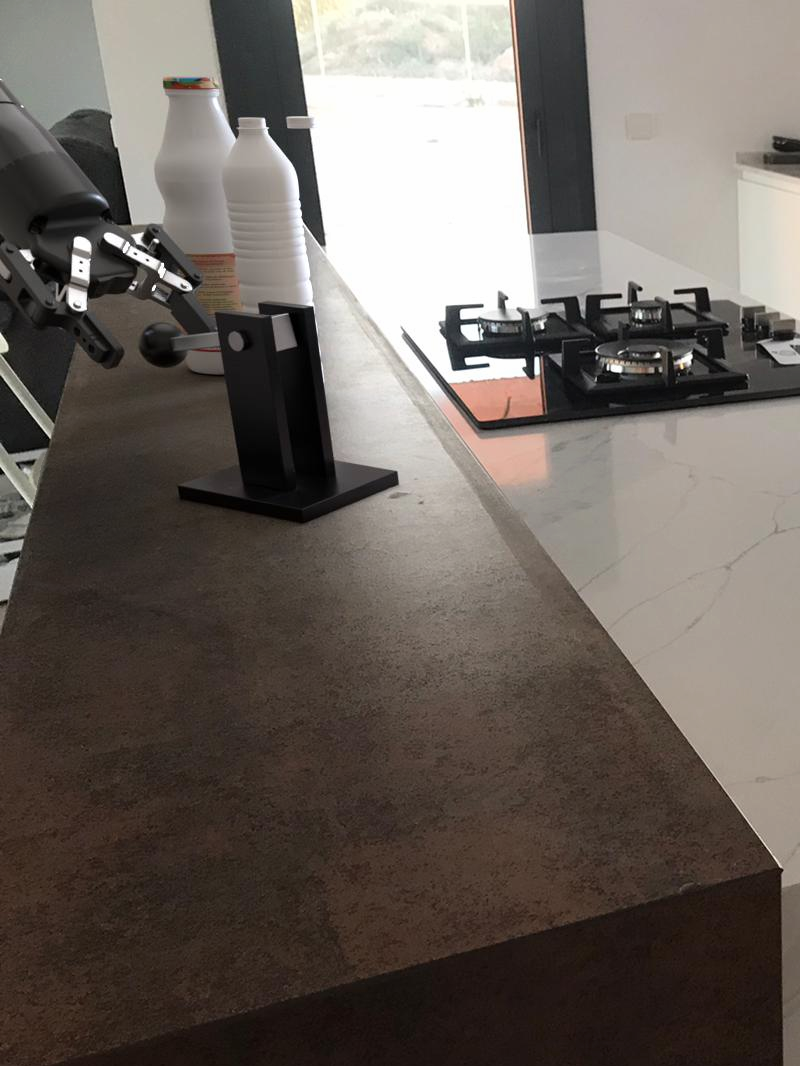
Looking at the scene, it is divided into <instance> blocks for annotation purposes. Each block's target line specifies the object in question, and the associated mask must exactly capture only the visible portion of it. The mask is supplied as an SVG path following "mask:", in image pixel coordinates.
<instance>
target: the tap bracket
mask: <svg viewBox="0 0 800 1066" xmlns="http://www.w3.org/2000/svg"><path fill="white" fill-rule="evenodd" d="M314 307H315V305H314V306H308V305H299V304H291V303H282V302H274V301H264V302H260V303H258V308H259V314H255V313H246V312H238V311H230V310H222V311H217V312H215V319H216V325H217V331H218V338H219V344H220V350H221V356H222V362H223V368H224V374H225V375H224V379H225V380H224V381H225V386H226V392H227V397H228V404H229V410H230V416H231V422H232V428H233V434H234V441H235V446H236V452H237V457H238V458H237V459H238V464H235V465H232V466H229V467H226V468H224V469H220V470H218V471H215V472H211V473H209V474H206V475H203V476H200V477H197V478H194V479H192V480H188V481H185V482H183V483H179V484H177V487H176V488H177V491H178V497H179V500H183V501H189V502H193V503H197V504H204V505H207V506H208V505H209V506H214V507H218V508H222V509H229V510H233V511H238V512H244V513H249V514H252V515H257V516H263V517H268V518H274V519H279V520H283V521H289V522H293V523H299V524H307V523H310V522H311V521H312V522H313V521H314V520H316V519H319V518H321V517H323V516H326V515H328V514H330V513H333V512H335V511H338V510H340V509H342V508H345V507H347V506H350V505H353V504H355V503H357V502H360V501H363V500H365V499H367V498H370V497H372V496H374V495H377V494H380V493H382V492H384V491H386V490H389V489H391V488H393V487H396V486H399V485H400V481H399V471H397V470H394V469H387V468H383V467H382V468H381V467H376V466H370V465H364V464H358V463H354V462H347V461H343V460H342V461H341V460H336V459H335V457H334V450H333V441H332V434H331V427H330V420H329V412H328V404H327V396H326V389H325V380H324V381H323V374H324V372H323V373H322V367H323V365H322V366H321V362H322V359H321V357H320V353H321V350H320V351H319V345H320V342H319V335H318V336H317V330H318V327H317V328H316V323H317V320H316V321H315V319H316V312H315V313H314ZM279 314H289V316H290V320H291V324H292V327H293V331H294V335H295V338H296V342H297V347H294V348H290V349H286V350H282V351H278V352H277V350H276V343H275V336H274V330H273V323H272V316H270V315H279ZM318 342H319V343H318Z"/></svg>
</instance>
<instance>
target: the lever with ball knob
mask: <svg viewBox="0 0 800 1066" xmlns="http://www.w3.org/2000/svg"><path fill="white" fill-rule="evenodd" d="M270 316H272V323H273V330H274V336H275V343H276V350H277V352H278V351H282V350H286V349H290V348H294V347H297V342H296V338H295V335H294V331H293V327H292V324H291V320H290V316H289V314H279V315H270ZM137 346H138V350H139V352H140V355H141V356H142V358H143V359H144V360H145V361H146V362H147V363H149V365H152V366H154V367H155V368H156V367H157V368H160V369H170V368H174V367H178V365H180V364H182V363H183V361H185V360H186V359H185V358H186V356H187V353H188V350H195V349H205V348H215V347H220V344H219V338H218V332H212V333H203V334H194V335H184V333H183V332H182V331H181V330H180V327H178V326H176V325H174V324H172V323H169V322H163V321H161V322H160V321H158V322H153V323H150V324H149V325H146V326H145V328H143V329H142V330H141V332H140V333H139V337H138V341H137Z"/></svg>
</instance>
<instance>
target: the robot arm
mask: <svg viewBox="0 0 800 1066" xmlns="http://www.w3.org/2000/svg"><path fill="white" fill-rule="evenodd" d="M0 235H1V236H2V237H3V238H4V240H5V241H6V242H2V243H1V244H0V287H1V288H2V290H3V291H4V292H5V294H6V295H7V296H8V297H9V299H10V300H11V302H12V303H13V304H14V305H15V307H16V308H17V309H18V311H19V312H20V314H21V315H22V316H23V318H24V319H25V320H26V322H27V324H29V325H30V327H32V328H33V329H35V330H37V331H45V330H48V327H50V328H51V327H52V328H58V329H59V330H61V331H62V332H64V333H68V334H70V335H71V336H72V337H73V339H74V340H75V341H76V343H77V344H78V345H79V346H80V347H81V348H82V350H83V351H84V352H85V353H86V354H87V356H88V357H89V358H90V359H91V360H92V361H94V362H95V363H96V364H98V365H99V364H100V365H101V367H102V368H103V369H105V370H110V369H115V368H117V367H118V366H119V364H120V363H121V361H122V360H123V358H124V356H125V348H124V347H123V345H122V344H121V343H120V341H118V339H117V338H116V337H115V335H113V333H112V332H111V331H110V330H109V328H108V327H107V326H106V325H105V324H104V322H103V321H102V320H101V318H99V317H98V315H97V313H96V312H94V311H90V312H87V311H86V310H87V307H88V306H87V305H88V304H87V302H88V301H87V299H89V300H95V299H100V298H102V297H103V296H105V295H114V296H115V295H116V296H117V295H123V294H128V295H130V296H132V297H134V298H135V299H138V300H140V301H147V300H151V301H152V302H154V303H156V304H158V305H160V306H162V307H164V308H166V309H168V310H170V315H171V316H172V317H173V318H174V319H175V320H176V322H177V323H178V325H179V324H180V325H181V326H182V328H183V329H184V330H185V331H186V332H187V334H188V335H194V334H203V333H212V332H217V328H216V327H217V325H216V323H215V320H214V319H213V318H212V317H211V316H210V314H209V313H208V312H207V311H206V310H205V308H204V307H203V306H202V305H201V303H200V302H199V301H198V300H197V299H196V297H195V295H196V293H197V291H198V290H199V288H200V287H201V285H202V283H203V282H204V280H205V276H204V275H203V273H202V272H201V271H200V270H199V269H198V268H197V267H196V266H195V265H194V263H193V262H192V261H191V260H190V259H189V258H188V257H187V256H186V255H185V253H184V252H183V251H182V250H181V249H180V248H179V247H178V246H177V245H176V243H175V242H174V241H173V240H172V239H171V238H170V237H169V236H168V235H167V233H166V232H165V231H164V230H163V227H161V226H160V225H158V224H157V223H152V222H151V223H148V224H147V226H146V228H145V230H144V231H143V232H138V233H134V234H130V233H129V232H128V231H126V230H125V229H123V228H122V227H120V226H119V225H118V224H116V222H115V220H114V218H113V215H112V212H111V208H110V206H109V203H108V201H107V199H106V198H105V197H104V196H103V195H102V193H101V192H100V191H99V189H98V188H97V187H96V186H95V185H94V184H93V182H92V181H91V180H90V178H89V177H88V176H87V175H86V174H85V172H84V171H83V170H82V169H81V167H79V165H78V164H77V163H76V162H75V160H74V159H73V158H72V157H71V156H70V154H69V153H68V152H67V151H66V150H65V149H64V147H63V146H62V145H61V144H60V142H58V140H57V139H56V138H55V136H54V135H53V134H52V133H51V132H50V131H49V130H48V129H47V128H46V127H45V126H44V125H43V124H42V123H41V122H40V121H39V120H38V119H36V118H35V117H34V116H33V115H32V114H31V113H30V112H29V111H28V109H27V108H26V107H25V105H23V103H22V101H20V99H19V98H18V97H17V96H16V95H15V93H14V92H13V91H12V90H11V88H10V87H9V86H8V85H7V84H6V82H5V81H4V80H3V79H2V78H1V77H0ZM138 268H140V269H142V270H144V271H145V273H146V276H145V277H144V280H142V281H138V280H136V278H137V276H138ZM178 269H179V270H180V271H181V272H182V273H183V274H184V275H185V277H184V278H182V277H181V276H180V275H179V273H178ZM39 275H40V276H42V277H44V278H46V279H48V280H50V281H52V282H54V283H55V296H54V295H53V293H52V292H51V290H50V289H49V288H48V287H47V285H46V284H45V282H44V281H43V280H42V278H41V277H40V276H39ZM156 284H161V285H162V286H164V287H166V288H168V289H170V291H169V292H168V291H166V290H165V289H163V288H161V287H158V286H157V285H156Z"/></svg>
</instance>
